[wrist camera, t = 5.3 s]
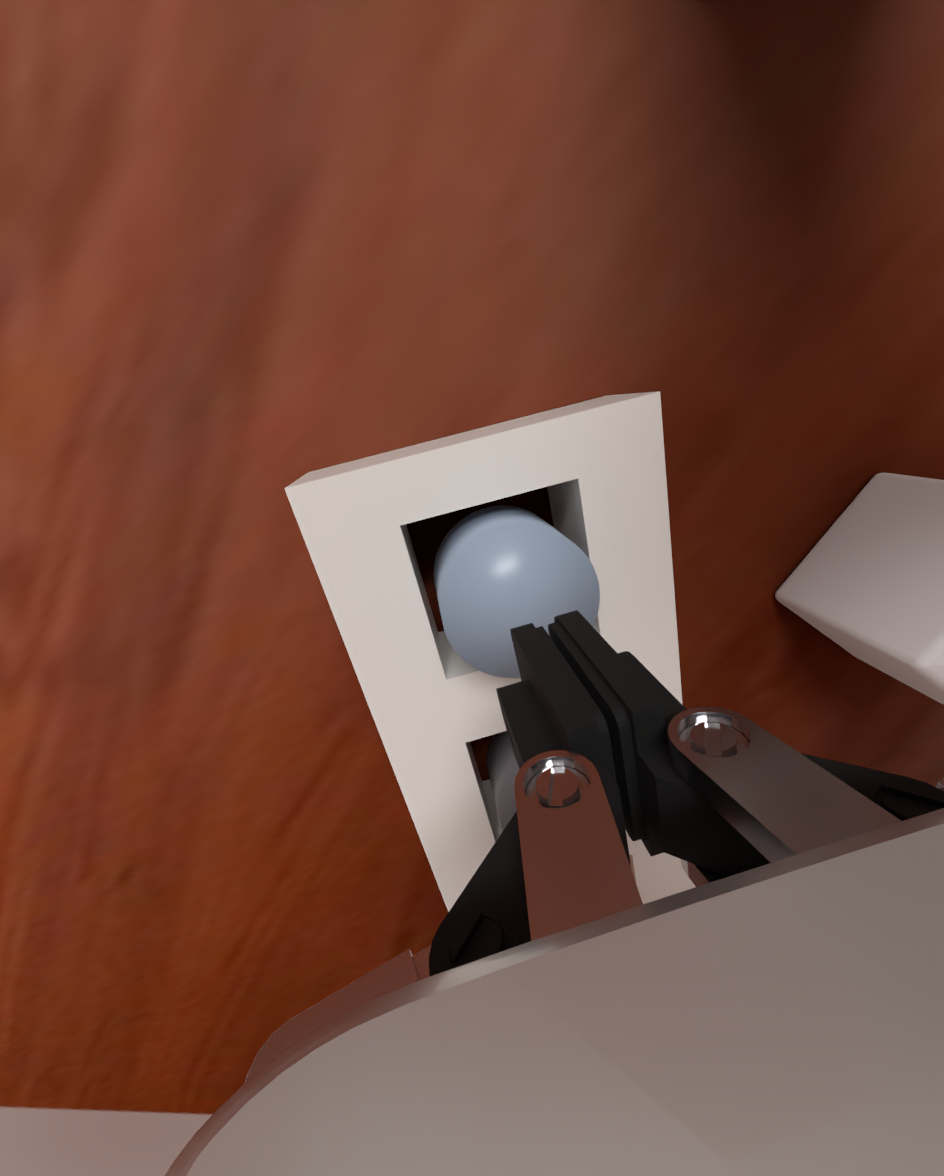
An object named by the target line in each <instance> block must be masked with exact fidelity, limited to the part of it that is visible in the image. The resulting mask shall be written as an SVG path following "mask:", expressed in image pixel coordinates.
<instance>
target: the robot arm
mask: <svg viewBox="0 0 944 1176" xmlns="http://www.w3.org/2000/svg"><path fill="white" fill-rule="evenodd" d="M548 631H549V635H548V633H547V632H546V630H545V629H544V628H543V626H541V627H537V628H536V627H535V626H534V624H533V623H530V624H526V625H523V626H519V627H516V628H512V629H510V632H511V638H512V642H513V646H514V651H515V655H516V659H517V664H518V668H519V672H520V677H521V682H517V683H514V684H510V685H507V686H504V687H500V688H497V689H496V691H497V696H498V700H499V704H500V708H501V711H502V715H503V719H504V723H505V726H506V730H507V733H508V737H509V740H510V743H511V746H512V749H513V752H514V755H515V758H516V761H517V764H518V767H519V771H518V773H517V775H516V777H515V785H514V791H515V800H516V809H517V811H516V812H515V814H514V815H513V817H512V818H511V820H510V821H509V823H508V824H507V826H506V827H505V829H504V830H503V832H502V833H501V835H500V836H499V838H498V839H497V841H496V842H495V844H494V845H493V847H492V848H491V850H490V851H489V853H488V854H487V856H486V857H485V859H484V860H483V862H482V863H481V865H480V866H479V868H478V869H477V871H476V872H475V874H474V875H473V877H472V878H471V880H470V881H469V883H468V884H467V886H466V887H465V889H464V890H463V892H462V893H461V895H460V896H459V898H458V899H457V901H456V902H455V904H454V905H453V907H452V908H451V910H450V911H449V912H448V914H447V915H446V917H445V918H444V920H443V921H442V923H441V924H440V926H439V928H438V930H437V932H436V934H435V936H434V938H433V940H432V944H431V945H430V946H428V947H426V948H425V949H423V950H421V951H420V952H418V953H416V954H415V955H412V953H411V951H410V949H408V950H406V951H405V952H403V953H401V954H400V955H398V956H396V957H395V958H393V959H391V960H390V961H388V962H386V963H385V964H383V965H381V966H379V967H378V968H376V969H374V970H373V971H371V972H369V973H368V974H366V975H364V976H363V977H361V978H359V979H358V980H356V981H354V982H353V983H351V984H349V985H347V986H346V987H344V988H342V989H341V990H339V991H337V992H336V993H334V994H332V995H331V996H329V997H327V998H326V999H324V1000H322V1001H320V1002H319V1003H317V1004H315V1005H314V1006H312V1007H310V1008H309V1009H307V1010H305V1011H304V1012H302V1013H300V1014H299V1015H297V1016H295V1017H294V1018H292V1019H290V1020H289V1021H288V1022H286V1023H285V1024H284V1025H283V1026H281V1027H280V1028H279V1029H278V1030H276V1031H275V1032H274V1033H273V1034H272V1035H271V1036H270V1038H269V1039H268V1040H267V1042H266V1043H265V1044H264V1046H263V1047H262V1048H261V1050H260V1051H259V1052H258V1054H257V1055H256V1058H255V1060H254V1062H253V1064H252V1066H251V1069H250V1071H249V1073H248V1075H247V1077H246V1081H245V1084H244V1085H243V1086H242V1087H241V1088H239V1089H238V1090H237V1091H236V1092H235V1093H234V1094H233V1095H232V1096H231V1097H230V1098H229V1099H228V1100H227V1101H226V1102H225V1103H224V1104H223V1105H222V1106H221V1107H220V1108H219V1109H218V1110H217V1111H216V1112H215V1113H214V1114H213V1115H212V1116H211V1117H210V1118H209V1119H208V1121H207V1122H206V1123H205V1124H204V1125H203V1126H202V1127H201V1128H200V1129H199V1130H198V1131H197V1132H196V1133H195V1135H194V1136H193V1137H192V1139H191V1140H190V1141H189V1142H188V1144H187V1145H186V1146H185V1148H184V1149H183V1150H182V1151H181V1153H180V1154H179V1155H178V1157H177V1158H176V1160H175V1161H174V1162H173V1164H172V1165H171V1167H170V1168H169V1170H168V1171H167V1173H166V1175H165V1176H944V780H938V783H937V788H936V787H934V786H932V785H930V784H928V783H925V782H922V781H918V780H915V779H912V778H908V777H905V776H900V775H896V774H891V773H887V772H882V771H878V770H873V769H869V768H864V767H860V766H855V765H851V764H846V763H842V762H837V761H833V760H828V759H824V758H819V757H815V756H810V755H806V754H801V753H799V752H798V751H796V750H795V749H793V748H792V747H790V746H789V745H787V744H786V743H784V742H783V741H781V740H780V739H778V738H777V737H775V736H774V735H772V734H771V733H769V732H768V731H766V730H765V729H763V728H762V727H760V726H759V725H757V724H756V723H754V722H753V721H751V720H750V719H748V718H747V717H745V716H743V715H741V714H739V713H737V712H735V711H732V710H728V709H725V708H720V707H710V706H705V707H694V708H691V709H686V708H685V707H684V706H683V705H682V704H681V703H680V702H679V701H678V700H677V699H676V698H675V697H674V696H673V695H672V694H671V693H670V692H669V691H668V690H667V689H666V688H665V687H664V686H663V685H662V684H661V683H660V682H659V681H658V680H657V679H656V678H655V677H654V676H653V675H652V674H651V673H650V672H649V670H648V669H647V668H646V667H645V666H644V665H643V664H642V663H641V662H640V661H639V660H638V659H637V658H636V657H635V656H634V655H633V654H631V653H630V652H629V651H624V652H621V653H617V652H616V651H615V650H614V649H613V648H612V647H611V646H610V645H609V644H608V643H607V642H606V640H605V639H604V638H603V637H602V636H601V635H600V634H599V633H598V632H597V631H596V630H595V629H594V628H593V626H592V625H591V624H590V623H589V622H588V621H587V620H586V619H585V618H584V617H583V616H582V615H581V613H580V612H579V611H577V610H575V611H572V612H568V613H565V614H561V615H558V616H555V617H554V623H551V624H548ZM626 831H627V833H628V835H629V837H630V838H631V840H632V841H637V840H640V839H641V840H642V842H643V844H644V846H645V847H646V849H647V851H648V852H649V854H650V856H655V855H658V854H661V853H667V854H669V855H672V856H675V857H677V858H680V860H681V864H682V868H683V869H684V871H685V872H686V874H687V876H688V877H689V879H690V880H691V881H692V882H693V883H694V885H695V886H696V887H695V888H692V889H689V890H686V891H683V892H680V893H677V894H673V895H670V896H667V897H664V898H661V899H658V900H655V901H652V902H649V903H646V904H643V903H642V900H641V897H640V894H639V891H638V888H637V885H636V882H635V879H634V876H633V873H632V870H631V867H630V863H631V862H630V856H629V849H628V843H627V836H626Z"/></svg>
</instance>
